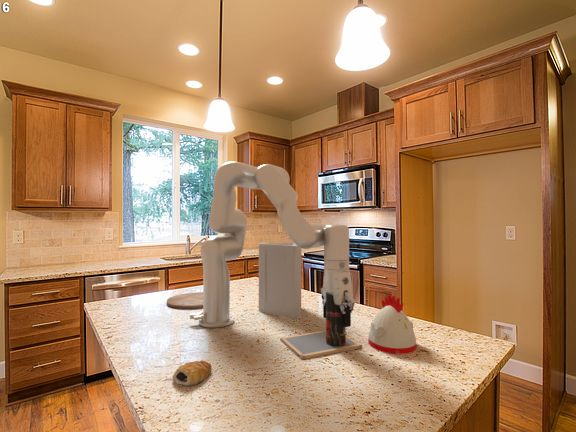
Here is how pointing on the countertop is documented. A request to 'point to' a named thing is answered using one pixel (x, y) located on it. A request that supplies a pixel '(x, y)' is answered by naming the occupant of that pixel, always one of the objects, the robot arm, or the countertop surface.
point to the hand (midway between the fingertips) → (336, 321)
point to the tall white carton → (280, 279)
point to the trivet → (186, 301)
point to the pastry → (192, 373)
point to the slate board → (316, 345)
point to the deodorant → (334, 323)
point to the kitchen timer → (392, 329)
